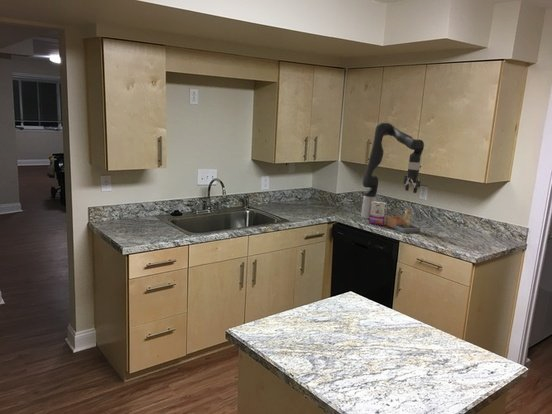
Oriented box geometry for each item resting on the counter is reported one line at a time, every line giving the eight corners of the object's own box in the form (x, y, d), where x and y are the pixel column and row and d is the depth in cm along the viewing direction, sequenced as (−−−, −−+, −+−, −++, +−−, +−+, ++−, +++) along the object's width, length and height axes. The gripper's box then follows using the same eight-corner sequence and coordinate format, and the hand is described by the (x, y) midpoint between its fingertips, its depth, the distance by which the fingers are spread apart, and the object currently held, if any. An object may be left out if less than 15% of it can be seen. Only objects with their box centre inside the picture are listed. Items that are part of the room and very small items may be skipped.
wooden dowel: (402, 228, 324) (404, 209, 321) (406, 228, 326) (409, 209, 323) (405, 230, 320) (408, 210, 318) (410, 229, 322) (412, 210, 319)
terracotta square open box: (386, 225, 336) (387, 216, 334) (397, 224, 340) (398, 216, 338) (395, 228, 327) (396, 219, 325) (406, 228, 331) (407, 219, 329)
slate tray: (393, 229, 325) (393, 225, 325) (409, 228, 331) (409, 224, 330) (403, 233, 316) (403, 228, 315) (419, 232, 321) (419, 227, 320)
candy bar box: (385, 224, 338) (387, 202, 334) (383, 225, 333) (386, 203, 330) (370, 222, 343) (372, 200, 340) (368, 223, 338) (370, 201, 335)
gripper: (402, 167, 319) (399, 190, 322) (416, 170, 306) (413, 193, 310) (411, 167, 322) (408, 189, 325) (424, 170, 309) (421, 193, 313)
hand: (410, 191), depth 317 cm, fingers open, 8 cm apart
